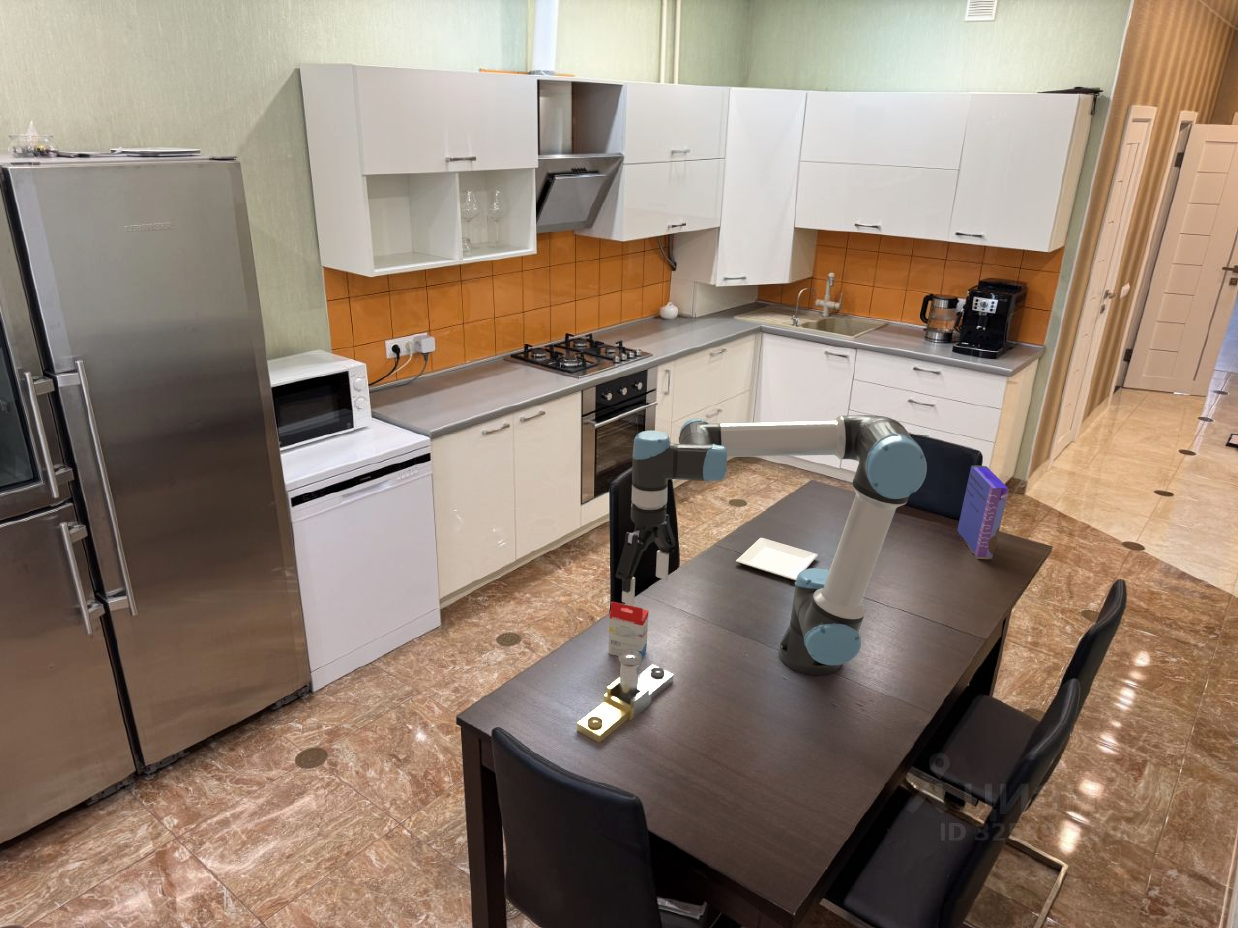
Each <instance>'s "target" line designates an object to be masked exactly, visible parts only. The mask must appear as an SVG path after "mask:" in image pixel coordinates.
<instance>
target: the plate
mask: <svg viewBox="0 0 1238 928" xmlns="http://www.w3.org/2000/svg"><path fill="white" fill-rule="evenodd" d="M818 556H819V554H818V553H814V552H812V551H809V550H805V549H801V548H799V547H795V546H791V545H788V544H785V543H781V542H778V541H774V540H772V539H771V540H770V539H768V538H765V537H759V539H757V540H756V541H755V542H754V543H753V544H752V545H751V546H750V547H749V548H748V549H747V550H745V551H744V553H743V554H741V555H740V556H739V557H738V558H737V559H736V560H735V562H736V563H737V564H740V565H744V566H747V567H750V568H753V569H755V570H759V571H762V572H765V573H768V574H773V575H775V576H778V577H781V578H785V579H788V580H792V581H795V582H796V579H797V575H798V574H799V573H800V572H801V571H803V570H806V569H808V567H809V566H810V565H811V564H812V563H813V562H814V560H815V559H816V558H817V557H818Z"/></svg>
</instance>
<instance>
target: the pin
mask: <svg viewBox="0 0 1238 928" xmlns="http://www.w3.org/2000/svg"><path fill="white" fill-rule="evenodd" d="M642 660H643V658H642V655H641V654H640V653H639V652H638V651H636V650H624V651H622V652H620V653H619V656H618V661H619V663H620V670H619V671H620V672H619V678H620V687H619V699H620V700H622V701H624V702H625V703H627V704H629V705H630V704H631V699H632V698H633V697H634V696H636V695H637V690H638V675H639V674H640V673H639V672H640V671H639V669H640V664H641V663H642Z"/></svg>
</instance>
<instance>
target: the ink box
mask: <svg viewBox="0 0 1238 928" xmlns="http://www.w3.org/2000/svg"><path fill="white" fill-rule="evenodd" d="M608 624H609V626H608V628H609V631H608V633H609V634H608V647H607V648H608V652H607V653H608V654H609V655H613V656H617V657H619V653H620V652H622V651H624V650H636V651H638V652H639V653H640V654H641V655H642V659H643V658H644V656H645V654H646V652H647V649H648V628H649V627H648V626H649V609H643V608H642V607H638V606H634V605H629V604H627V603H625V604H624V603H621V602H616V601H611V603H610V611H609V623H608Z"/></svg>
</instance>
